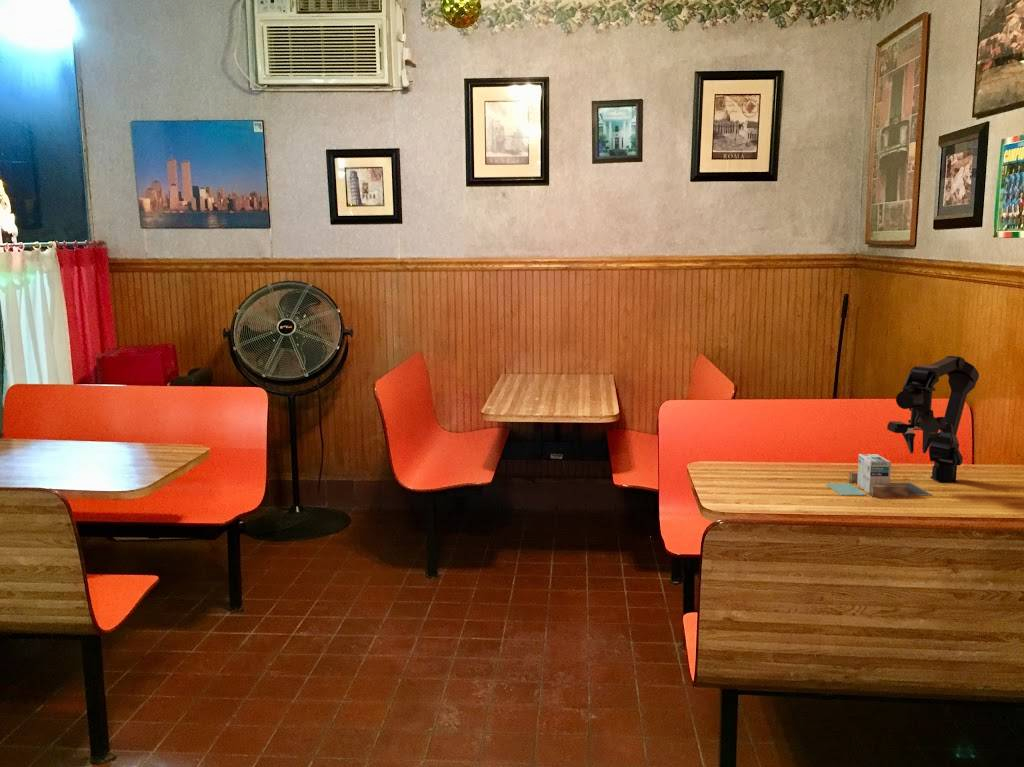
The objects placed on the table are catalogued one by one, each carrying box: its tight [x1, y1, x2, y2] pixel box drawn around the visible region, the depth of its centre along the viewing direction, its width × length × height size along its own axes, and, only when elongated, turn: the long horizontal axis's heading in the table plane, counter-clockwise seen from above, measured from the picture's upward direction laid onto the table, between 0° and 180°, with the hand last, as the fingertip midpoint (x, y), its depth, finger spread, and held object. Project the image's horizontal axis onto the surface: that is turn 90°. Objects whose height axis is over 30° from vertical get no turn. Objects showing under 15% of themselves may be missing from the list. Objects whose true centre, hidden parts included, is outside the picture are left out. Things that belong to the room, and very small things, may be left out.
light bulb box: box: [856, 453, 892, 495], centre depth 274 cm, size 11×7×11 cm, turn 179°
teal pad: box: [825, 482, 867, 497], centre depth 275 cm, size 8×13×1 cm, turn 2°
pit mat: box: [890, 482, 933, 496], centre depth 275 cm, size 8×14×1 cm, turn 1°
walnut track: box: [848, 471, 908, 498], centre depth 275 cm, size 11×18×4 cm, turn 2°
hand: (917, 453), depth 273 cm, fingers open, 4 cm apart
